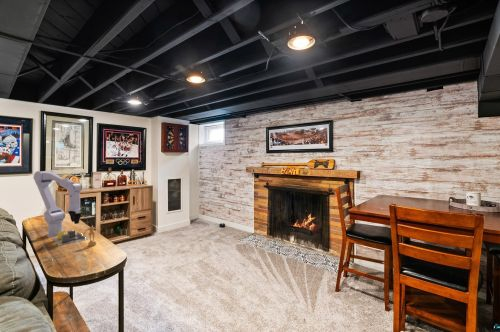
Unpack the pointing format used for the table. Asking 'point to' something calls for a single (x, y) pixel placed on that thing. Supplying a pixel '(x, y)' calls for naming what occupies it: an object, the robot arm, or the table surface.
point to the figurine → (92, 242)
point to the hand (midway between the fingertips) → (75, 222)
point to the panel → (71, 239)
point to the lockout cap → (61, 234)
